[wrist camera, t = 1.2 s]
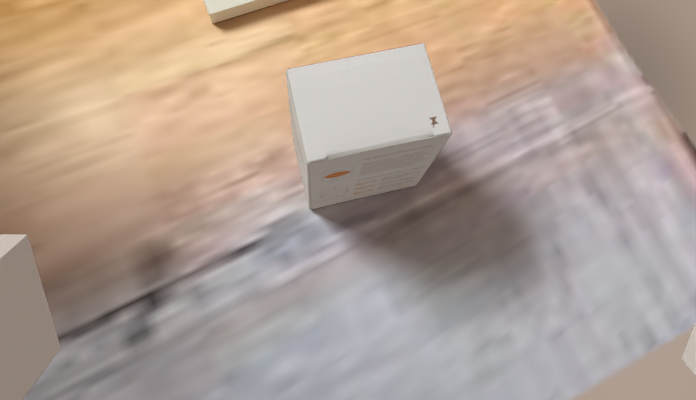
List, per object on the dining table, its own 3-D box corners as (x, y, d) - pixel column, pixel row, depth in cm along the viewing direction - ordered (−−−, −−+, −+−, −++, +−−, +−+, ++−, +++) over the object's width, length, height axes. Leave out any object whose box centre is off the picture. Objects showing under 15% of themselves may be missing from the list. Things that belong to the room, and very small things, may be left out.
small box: (397, 116, 39) (428, 38, 29) (417, 188, 37) (457, 133, 27) (290, 138, 38) (283, 65, 28) (307, 211, 36) (306, 163, 26)
